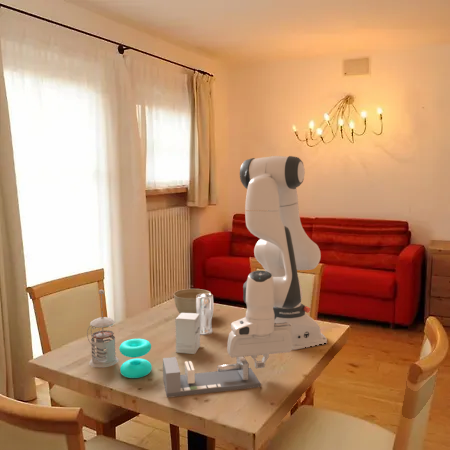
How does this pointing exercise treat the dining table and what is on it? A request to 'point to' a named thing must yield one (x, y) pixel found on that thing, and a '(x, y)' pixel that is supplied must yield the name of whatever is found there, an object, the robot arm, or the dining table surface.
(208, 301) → the beer glass
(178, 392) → the frame
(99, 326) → the french press
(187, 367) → the gauge pointer
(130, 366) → the donuts
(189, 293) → the planter bowl
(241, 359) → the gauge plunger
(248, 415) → the dining table surface
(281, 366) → the dining table surface
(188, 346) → the supplement box
